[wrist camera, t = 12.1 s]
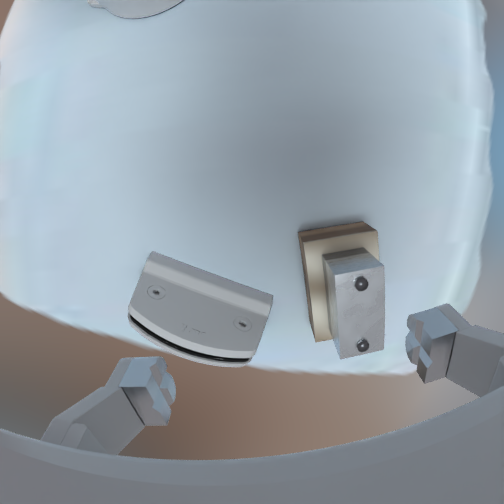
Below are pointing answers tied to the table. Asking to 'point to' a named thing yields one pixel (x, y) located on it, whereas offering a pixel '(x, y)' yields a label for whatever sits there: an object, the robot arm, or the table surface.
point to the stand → (311, 252)
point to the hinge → (198, 313)
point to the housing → (355, 301)
